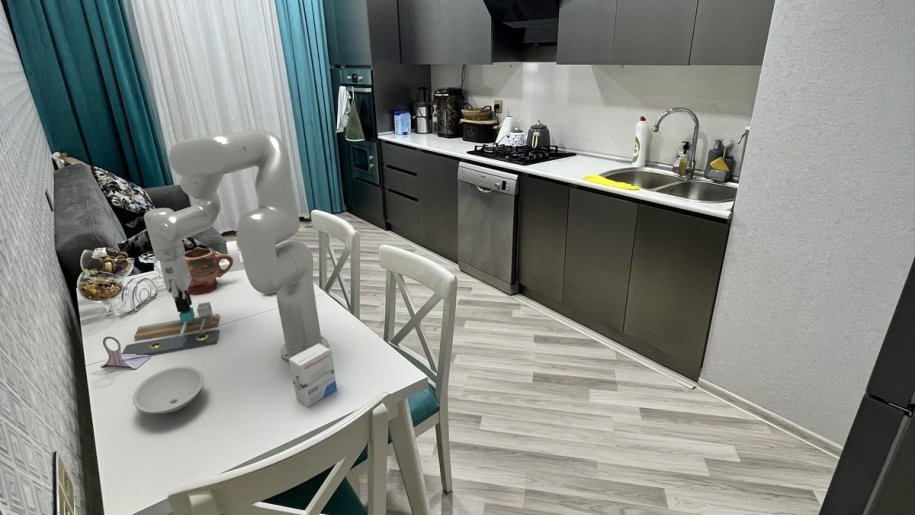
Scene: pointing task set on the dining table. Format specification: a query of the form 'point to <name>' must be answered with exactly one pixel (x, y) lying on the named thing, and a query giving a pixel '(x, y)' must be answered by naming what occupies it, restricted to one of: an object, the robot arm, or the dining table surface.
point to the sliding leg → (186, 317)
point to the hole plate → (173, 343)
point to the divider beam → (180, 324)
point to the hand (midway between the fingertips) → (185, 307)
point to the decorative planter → (205, 269)
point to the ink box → (313, 374)
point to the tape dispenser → (235, 256)
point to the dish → (168, 390)
